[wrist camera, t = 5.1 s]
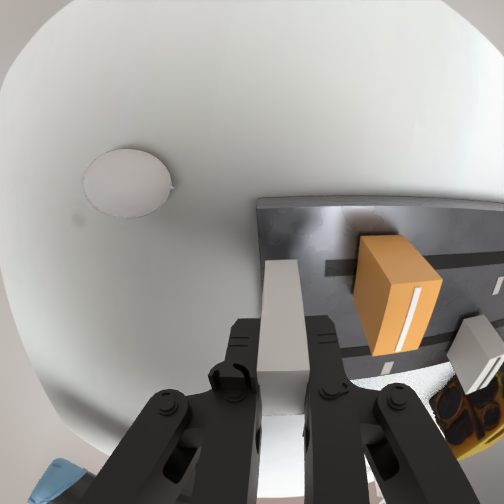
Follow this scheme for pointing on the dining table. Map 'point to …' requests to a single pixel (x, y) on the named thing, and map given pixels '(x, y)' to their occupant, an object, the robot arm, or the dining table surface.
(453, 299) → the console
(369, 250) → the fader
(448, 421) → the candle
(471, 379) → the fader
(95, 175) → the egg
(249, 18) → the dining table surface
